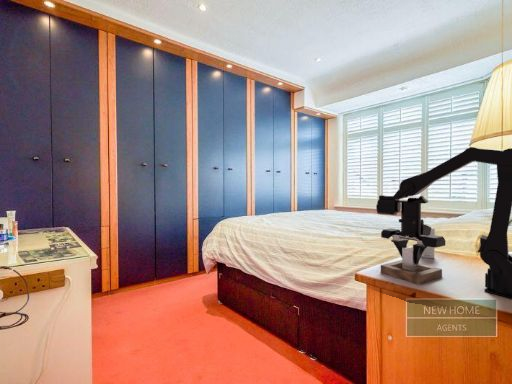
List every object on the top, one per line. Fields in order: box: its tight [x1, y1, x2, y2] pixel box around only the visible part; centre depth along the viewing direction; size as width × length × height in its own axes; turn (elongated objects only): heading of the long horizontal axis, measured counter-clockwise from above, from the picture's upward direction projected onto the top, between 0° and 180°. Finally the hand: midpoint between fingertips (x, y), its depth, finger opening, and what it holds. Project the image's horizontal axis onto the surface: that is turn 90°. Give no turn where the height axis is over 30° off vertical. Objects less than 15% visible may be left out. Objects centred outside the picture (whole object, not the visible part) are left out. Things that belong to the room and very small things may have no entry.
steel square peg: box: [401, 245, 420, 272], centre depth 91 cm, size 4×4×7 cm
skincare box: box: [421, 227, 436, 259], centre depth 113 cm, size 6×4×12 cm
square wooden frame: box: [380, 259, 443, 285], centre depth 91 cm, size 13×13×2 cm
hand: (410, 262), depth 91 cm, fingers closed on steel square peg, 4 cm apart
